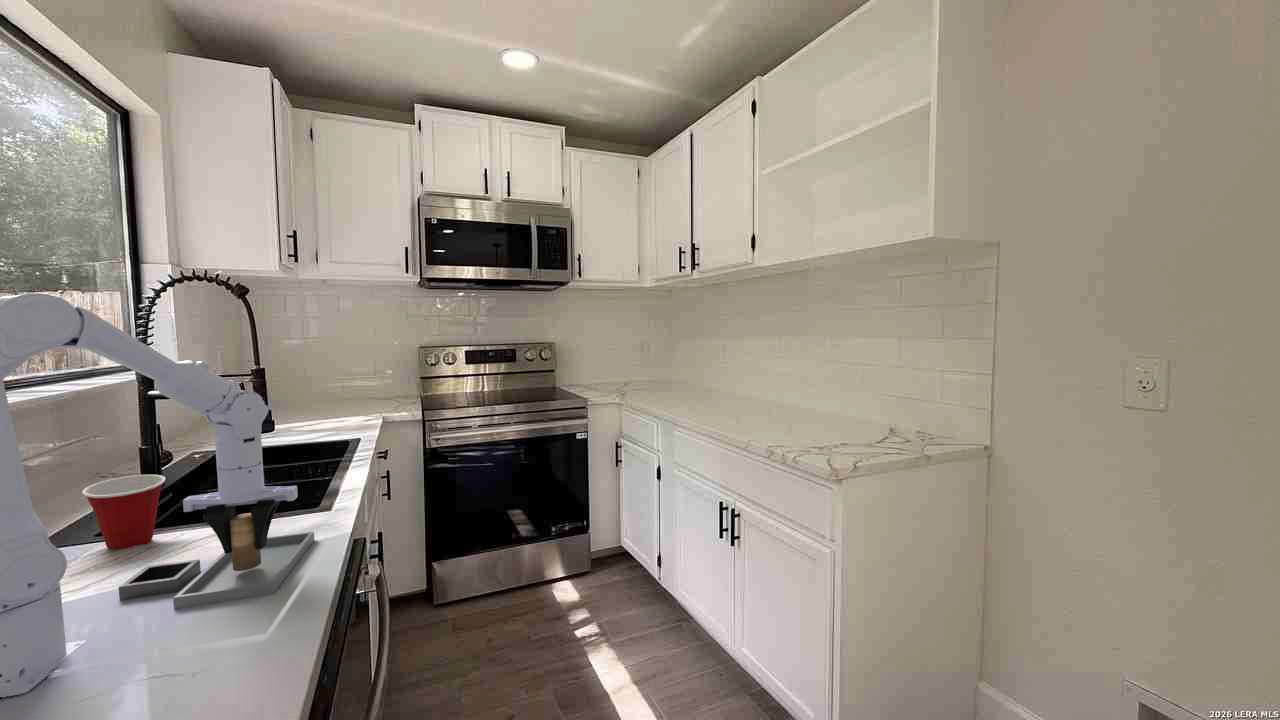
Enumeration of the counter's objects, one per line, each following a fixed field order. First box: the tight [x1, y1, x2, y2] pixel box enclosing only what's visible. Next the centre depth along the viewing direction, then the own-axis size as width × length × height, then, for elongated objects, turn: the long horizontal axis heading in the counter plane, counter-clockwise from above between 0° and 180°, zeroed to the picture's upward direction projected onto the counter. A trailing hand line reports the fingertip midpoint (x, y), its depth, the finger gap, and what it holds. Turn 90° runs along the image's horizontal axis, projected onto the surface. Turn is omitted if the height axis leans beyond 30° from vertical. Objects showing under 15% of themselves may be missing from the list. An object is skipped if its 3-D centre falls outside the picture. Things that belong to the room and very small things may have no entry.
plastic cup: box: [81, 474, 166, 550], centre depth 94 cm, size 11×11×12 cm
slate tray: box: [172, 531, 315, 610], centre depth 82 cm, size 20×12×2 cm, turn 18°
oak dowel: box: [230, 512, 261, 571], centre depth 81 cm, size 4×4×8 cm
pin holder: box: [118, 559, 201, 602], centre depth 78 cm, size 7×7×3 cm
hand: (246, 548), depth 81 cm, fingers closed on oak dowel, 4 cm apart
